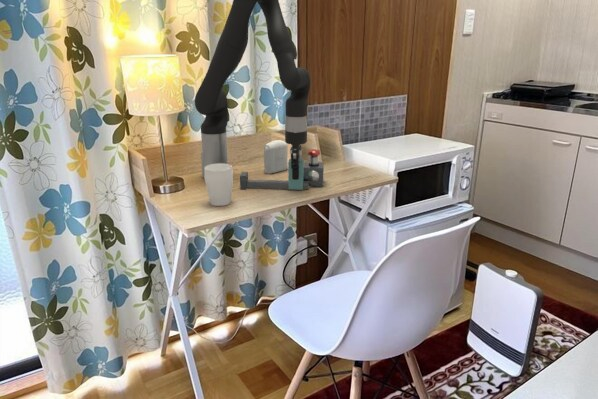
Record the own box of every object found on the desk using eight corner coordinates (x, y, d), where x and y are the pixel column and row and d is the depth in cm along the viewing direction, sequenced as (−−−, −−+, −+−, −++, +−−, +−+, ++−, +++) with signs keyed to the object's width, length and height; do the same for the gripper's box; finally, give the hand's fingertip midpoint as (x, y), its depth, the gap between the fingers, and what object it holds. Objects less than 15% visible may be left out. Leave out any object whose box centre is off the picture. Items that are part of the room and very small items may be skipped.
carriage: (288, 189, 161) (288, 162, 158) (289, 185, 166) (289, 158, 162) (302, 189, 161) (302, 162, 158) (303, 185, 165) (303, 158, 162)
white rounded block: (282, 167, 189) (281, 137, 184) (289, 169, 186) (289, 139, 181) (262, 172, 182) (261, 141, 178) (269, 175, 179) (269, 143, 175)
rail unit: (240, 189, 162) (239, 170, 160) (246, 178, 175) (246, 160, 172) (322, 191, 161) (323, 172, 158) (323, 180, 173) (323, 162, 170)
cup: (209, 209, 144) (207, 172, 140) (203, 200, 152) (200, 165, 148) (237, 205, 148) (236, 169, 144) (230, 196, 156) (228, 162, 151)
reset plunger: (307, 171, 166) (307, 152, 163) (308, 168, 170) (308, 149, 167) (319, 172, 165) (320, 152, 163) (320, 168, 169) (320, 149, 167)
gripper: (286, 124, 163) (287, 171, 169) (282, 133, 150) (283, 183, 156) (308, 125, 163) (307, 171, 168) (306, 133, 149) (305, 183, 155)
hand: (296, 176), depth 162 cm, fingers closed on carriage, 4 cm apart
